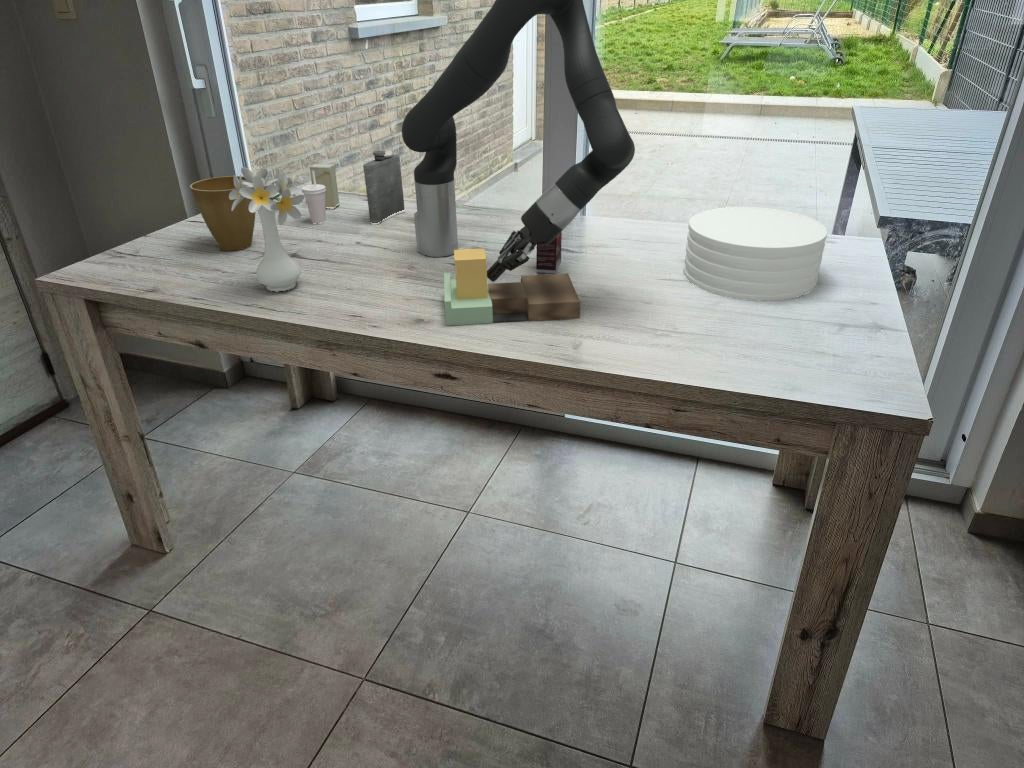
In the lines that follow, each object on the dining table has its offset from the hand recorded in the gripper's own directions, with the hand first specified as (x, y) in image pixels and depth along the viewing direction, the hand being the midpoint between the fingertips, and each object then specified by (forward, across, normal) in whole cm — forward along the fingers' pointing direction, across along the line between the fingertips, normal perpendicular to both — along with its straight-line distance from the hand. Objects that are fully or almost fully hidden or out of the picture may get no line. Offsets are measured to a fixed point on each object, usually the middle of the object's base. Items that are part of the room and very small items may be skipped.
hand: (489, 277), depth 139 cm
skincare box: (+35, -79, -26) cm, 90 cm away
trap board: (-1, 0, +11) cm, 11 cm away
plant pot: (+48, -47, -39) cm, 77 cm away
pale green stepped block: (+8, 0, +1) cm, 8 cm away
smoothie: (+35, -64, -26) cm, 77 cm away
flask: (+22, -66, -13) cm, 71 cm away
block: (+5, 0, 0) cm, 5 cm away
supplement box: (-6, -21, +15) cm, 27 cm away
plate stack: (-36, -10, +46) cm, 59 cm away
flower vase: (+36, -17, -26) cm, 48 cm away
